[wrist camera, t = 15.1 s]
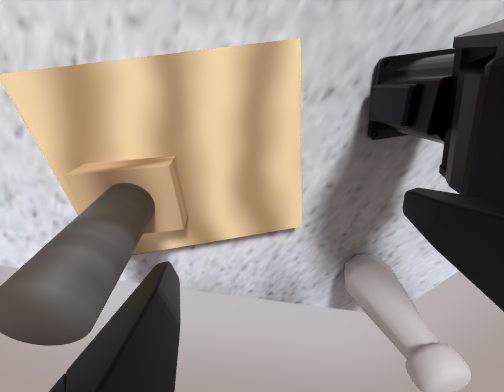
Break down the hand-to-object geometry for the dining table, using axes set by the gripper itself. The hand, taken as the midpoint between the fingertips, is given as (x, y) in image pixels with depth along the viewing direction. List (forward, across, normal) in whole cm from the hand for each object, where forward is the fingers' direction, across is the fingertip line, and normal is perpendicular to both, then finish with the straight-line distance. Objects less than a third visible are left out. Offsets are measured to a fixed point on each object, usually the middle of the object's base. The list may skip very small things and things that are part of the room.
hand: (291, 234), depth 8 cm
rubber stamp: (+12, +10, +1) cm, 15 cm away
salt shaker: (+12, -11, +19) cm, 25 cm away
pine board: (+13, +5, 0) cm, 14 cm away
